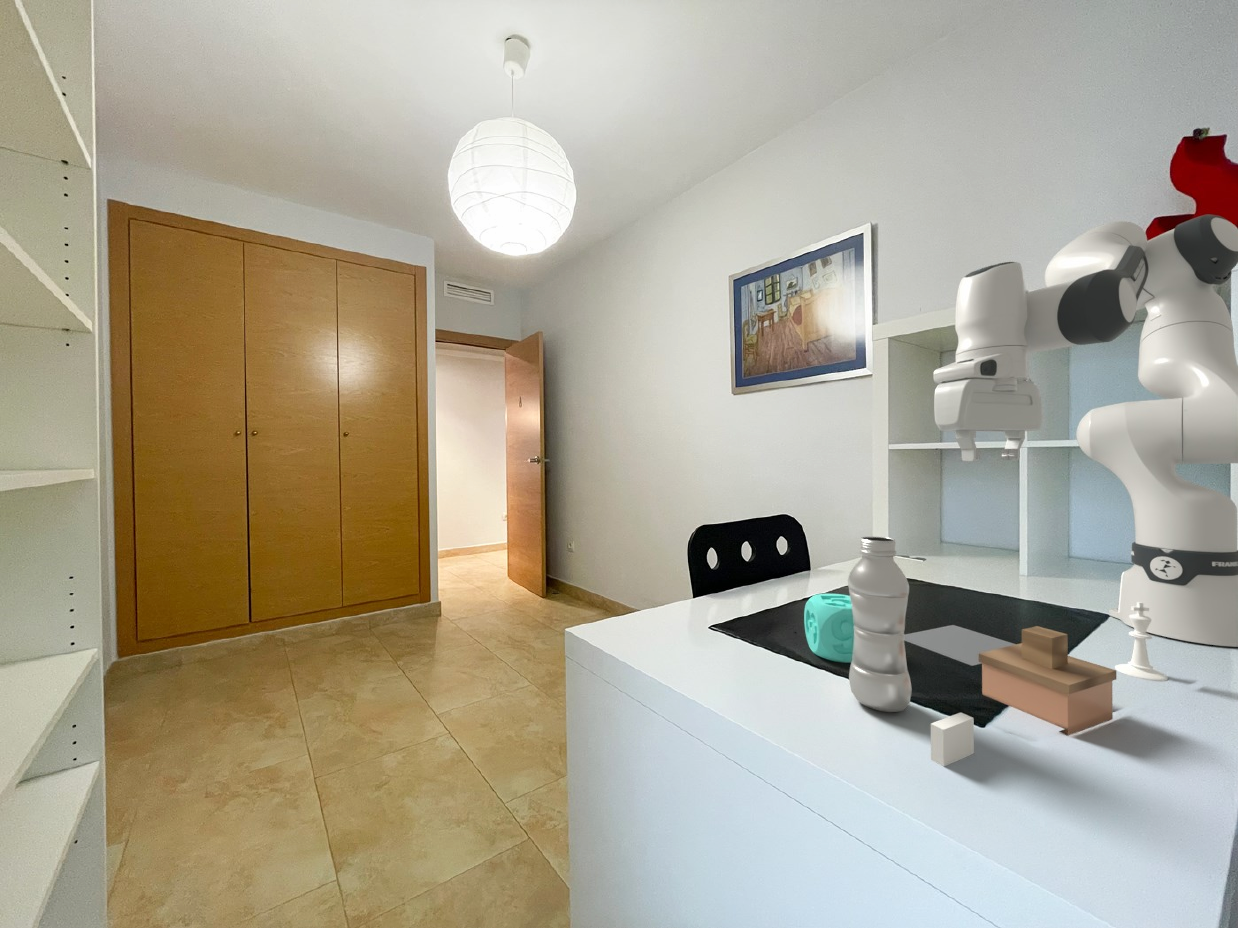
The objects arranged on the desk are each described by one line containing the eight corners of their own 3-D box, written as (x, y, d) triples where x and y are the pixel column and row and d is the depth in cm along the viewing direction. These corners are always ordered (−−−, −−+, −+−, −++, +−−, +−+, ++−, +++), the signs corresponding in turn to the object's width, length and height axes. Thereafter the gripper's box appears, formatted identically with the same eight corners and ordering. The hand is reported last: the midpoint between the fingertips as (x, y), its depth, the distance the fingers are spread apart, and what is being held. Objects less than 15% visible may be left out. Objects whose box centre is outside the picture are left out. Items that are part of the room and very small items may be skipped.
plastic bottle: (889, 725, 53) (888, 545, 53) (836, 699, 59) (835, 537, 59) (924, 711, 56) (922, 540, 56) (870, 687, 62) (869, 533, 62)
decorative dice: (855, 643, 77) (855, 593, 77) (877, 664, 69) (876, 608, 69) (804, 641, 78) (803, 592, 78) (819, 662, 70) (819, 607, 70)
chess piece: (1180, 687, 61) (1179, 608, 61) (1134, 684, 62) (1133, 607, 62) (1146, 670, 66) (1146, 598, 66) (1104, 667, 67) (1103, 596, 67)
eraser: (930, 760, 47) (930, 722, 47) (960, 747, 49) (960, 711, 49) (943, 767, 46) (943, 729, 46) (974, 754, 48) (974, 717, 48)
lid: (1024, 650, 62) (1024, 615, 62) (1116, 679, 54) (1116, 639, 54) (978, 661, 59) (978, 625, 59) (1069, 694, 51) (1068, 651, 51)
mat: (953, 628, 83) (953, 624, 83) (1034, 653, 72) (1034, 649, 72) (894, 640, 78) (894, 636, 78) (972, 669, 67) (972, 665, 67)
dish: (1025, 686, 62) (1025, 651, 62) (1112, 718, 54) (1112, 678, 54) (982, 698, 59) (982, 662, 59) (1067, 735, 51) (1067, 693, 51)
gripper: (1010, 377, 81) (1010, 459, 81) (925, 371, 73) (926, 461, 74) (1055, 371, 75) (1056, 459, 75) (968, 363, 68) (969, 461, 68)
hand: (991, 460), depth 74 cm, fingers open, 8 cm apart
